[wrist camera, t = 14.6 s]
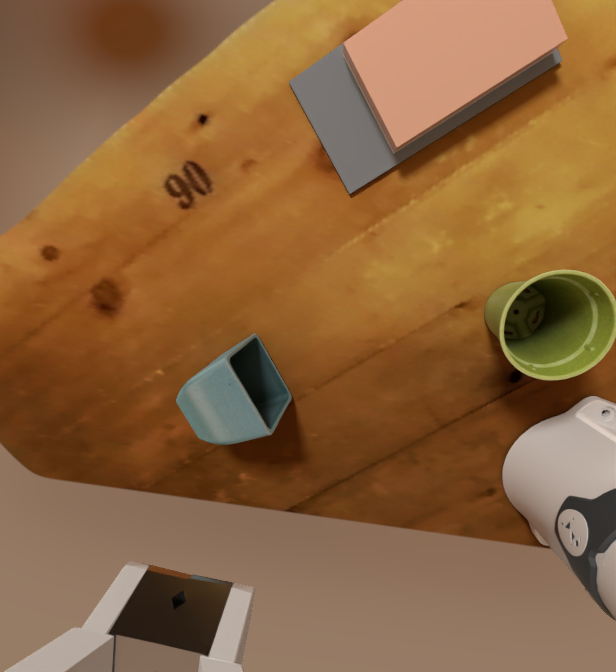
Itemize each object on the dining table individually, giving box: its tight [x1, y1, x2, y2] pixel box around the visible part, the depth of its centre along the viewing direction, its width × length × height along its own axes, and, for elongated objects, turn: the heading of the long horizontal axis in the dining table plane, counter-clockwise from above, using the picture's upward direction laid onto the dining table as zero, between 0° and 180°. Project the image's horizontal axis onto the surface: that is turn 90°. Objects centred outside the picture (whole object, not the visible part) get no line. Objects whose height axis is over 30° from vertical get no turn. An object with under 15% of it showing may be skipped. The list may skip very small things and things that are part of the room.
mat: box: [289, 13, 562, 194], centre depth 35 cm, size 22×12×1 cm, turn 121°
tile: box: [343, 0, 568, 154], centre depth 33 cm, size 2×10×16 cm
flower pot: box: [176, 333, 292, 445], centre depth 40 cm, size 9×9×9 cm
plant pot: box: [484, 270, 616, 380], centre depth 35 cm, size 9×9×9 cm
